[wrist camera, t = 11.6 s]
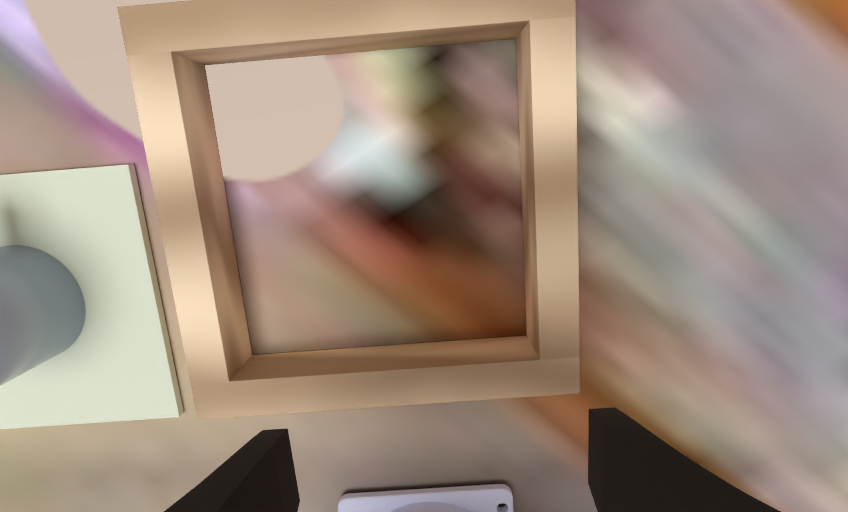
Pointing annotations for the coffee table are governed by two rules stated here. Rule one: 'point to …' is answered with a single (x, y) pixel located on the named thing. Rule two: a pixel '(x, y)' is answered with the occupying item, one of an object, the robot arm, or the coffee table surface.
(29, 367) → the grey rounded cylinder
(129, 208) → the sage mat
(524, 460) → the coffee table surface
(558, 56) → the frame
